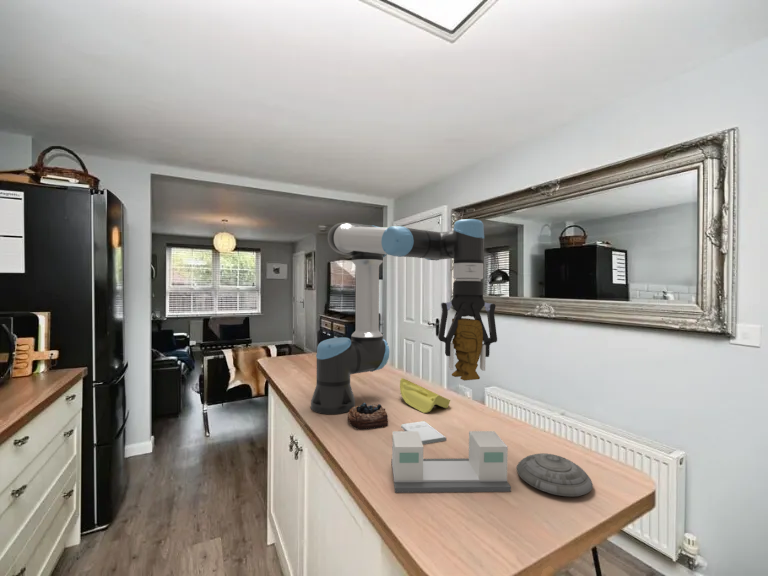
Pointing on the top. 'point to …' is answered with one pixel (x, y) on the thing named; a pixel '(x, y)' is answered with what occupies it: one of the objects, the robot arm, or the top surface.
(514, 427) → the top surface
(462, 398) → the top surface
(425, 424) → the external hard drive
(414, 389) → the plastic component
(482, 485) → the rail board
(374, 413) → the pastry
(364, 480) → the top surface
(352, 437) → the top surface
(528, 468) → the flying saucer
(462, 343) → the figurine
